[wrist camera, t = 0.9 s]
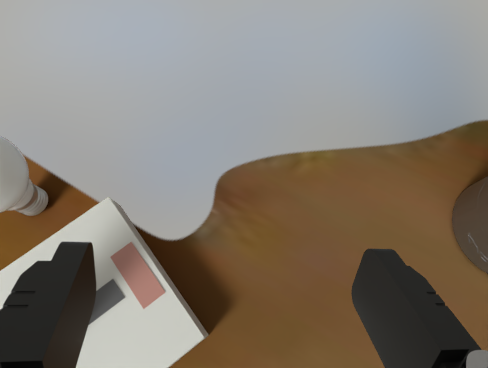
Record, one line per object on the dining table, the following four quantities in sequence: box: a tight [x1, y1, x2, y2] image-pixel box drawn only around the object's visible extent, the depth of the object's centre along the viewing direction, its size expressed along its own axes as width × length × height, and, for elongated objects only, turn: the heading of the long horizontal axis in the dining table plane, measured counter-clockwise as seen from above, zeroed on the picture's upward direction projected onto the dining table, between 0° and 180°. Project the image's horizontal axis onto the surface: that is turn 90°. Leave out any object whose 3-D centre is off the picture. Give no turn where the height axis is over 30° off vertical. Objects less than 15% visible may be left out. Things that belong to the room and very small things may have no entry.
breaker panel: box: [0, 197, 208, 368], centre depth 29 cm, size 20×14×3 cm
